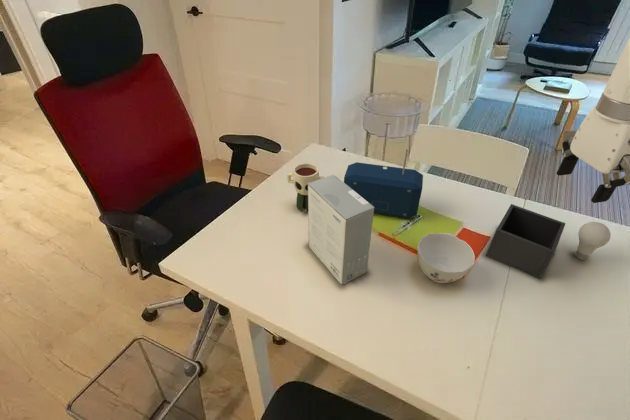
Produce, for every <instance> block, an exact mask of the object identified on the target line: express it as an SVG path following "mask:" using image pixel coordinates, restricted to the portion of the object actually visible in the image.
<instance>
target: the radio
mask: <svg viewBox="0 0 630 420" xmlns="http://www.w3.org/2000/svg"><path fill="white" fill-rule="evenodd" d="M408 152H409V149H405V155H404V160H403V167H396V166H388V165H381V164H373V163H365V162H354V163H351V164H348V165H347V168H346V171H345V173H344V177H343V182H344V183H345V184H346V185H347V186H349V187H350V188H351V189H352V190H354V191H355V192H356V193H358V194H359V195H360V196H361V197H362V198H364V199H365V200H366V201H367V202H369V203H370V204H371V205H372V206H373V207H375V208H374V214H375V215H380V216H381V215H383V216H389V217H394V218H395V217H396V218H402V219H411V218H414V217H417V215H418V210H419V205H420V201H421V197H422V192H423V183H424V175H423V174H422V172H420V171H418V170H416V169H413V168H406V163H407V158H408Z"/></svg>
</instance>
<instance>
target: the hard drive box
mask: <svg viewBox="0 0 630 420" xmlns="http://www.w3.org/2000/svg"><path fill="white" fill-rule="evenodd" d="M324 177H325V178H322V179H319V180H316V181H314V182H311V183H308V212H307V214H308V215H307V216H308V217H307V218H308V219H307V220H308V247H309V248H310V249H311V250H312V252H313V254H314V255H316V257H317V258H318V259H319V260H320V261H321V263H322V264H323V265H324V266H325V267H326V268H327V269H328V271H329V272H330V273H331V274H332V276H333V277H334V278H335V279H336V280H337V282H338V283H339V284H340V285H346V284H347V283H349V282H351V281H353V280H355V279H356V278H359V277H361V276H363V275H365V274H367V271H368V263H369V255H370V246H371V238H372V230H373V222H374V214H375V213H374V208H375V207H373V206H372V205H371V204H370V203H369V202H367V201H366V200H365V199H364V198H362V197H361V196H360V195H359V194H358V193H356V192H355V191H354V190H352V189H351V188H350V187H349V186H347V185H346V184H345V183H344V180H342V179H340V178H339V177H338V176H336V174H331V175H328V176H324Z"/></svg>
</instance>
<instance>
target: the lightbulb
mask: <svg viewBox="0 0 630 420" xmlns="http://www.w3.org/2000/svg"><path fill="white" fill-rule="evenodd" d="M577 233H578V234H577V235H578V236H577V237H578V245H577V247H576V251H575V253H574V256H575V257H576V258H577V259H578V260H582V261H584V260H585V261H586V259H587V258H588V257H589V256H590V255H591V254H592V253H593V252H594V251H595V250H597V249H599V248H602V247H604V246H606V245H607V244H608V243H609V242H610V240H611V237H612V236H611V231H610V229H609V228H608V226H606V225H605V224H604V223H601V222H599V221H589V222H586V223H584V224H583V225H581V226H580V228H579V229H578V232H577Z"/></svg>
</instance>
